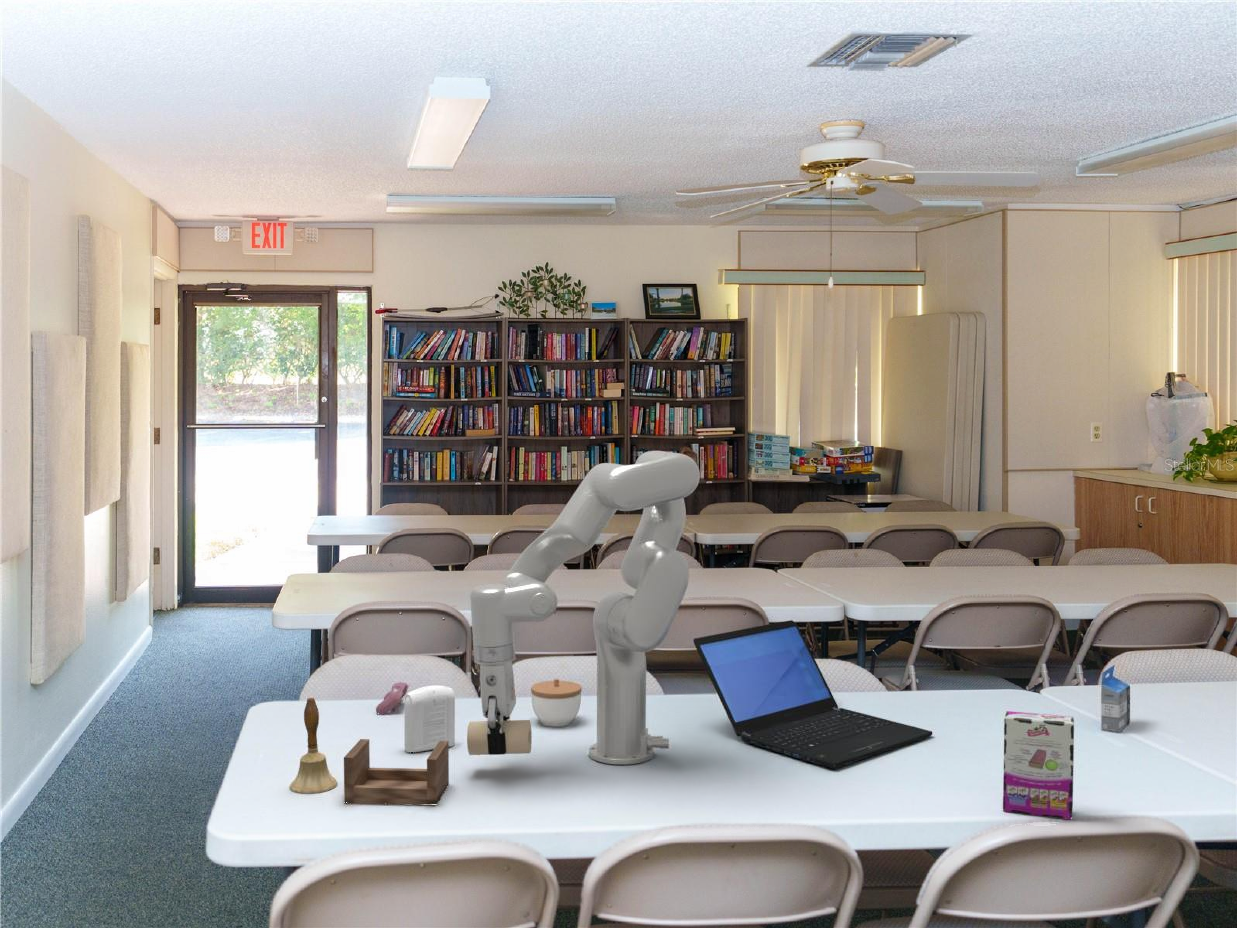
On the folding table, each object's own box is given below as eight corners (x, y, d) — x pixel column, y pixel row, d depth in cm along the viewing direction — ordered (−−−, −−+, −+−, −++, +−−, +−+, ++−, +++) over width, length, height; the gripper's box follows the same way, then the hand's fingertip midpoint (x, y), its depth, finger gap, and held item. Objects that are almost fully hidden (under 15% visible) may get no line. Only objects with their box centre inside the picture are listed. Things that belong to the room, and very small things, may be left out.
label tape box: (1119, 733, 243) (1121, 675, 243) (1099, 730, 246) (1101, 672, 245) (1130, 724, 250) (1132, 667, 250) (1110, 720, 253) (1112, 664, 252)
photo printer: (449, 740, 237) (448, 680, 236) (458, 746, 233) (458, 685, 233) (401, 749, 231) (400, 687, 231) (410, 755, 228) (409, 692, 227)
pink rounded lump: (392, 722, 255) (406, 693, 255) (373, 712, 255) (387, 684, 255) (401, 709, 265) (414, 682, 265) (382, 700, 265) (396, 673, 265)
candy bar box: (1072, 810, 200) (1075, 715, 198) (1072, 820, 195) (1075, 723, 194) (1003, 802, 204) (1005, 708, 202) (1001, 811, 199) (1004, 716, 198)
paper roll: (532, 746, 220) (531, 715, 219) (528, 758, 214) (526, 726, 213) (473, 748, 220) (471, 717, 220) (467, 759, 214) (465, 728, 214)
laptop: (833, 774, 219) (835, 671, 217) (690, 729, 247) (691, 638, 245) (935, 738, 241) (937, 645, 239) (793, 701, 269) (794, 617, 267)
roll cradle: (448, 784, 211) (448, 740, 211) (436, 805, 201) (436, 759, 200) (361, 782, 212) (360, 739, 212) (344, 803, 202) (343, 757, 201)
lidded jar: (591, 724, 249) (591, 680, 248) (547, 732, 243) (547, 688, 242) (564, 712, 257) (564, 670, 257) (521, 720, 251) (521, 677, 251)
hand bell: (312, 797, 205) (311, 707, 204) (279, 788, 209) (278, 700, 208) (347, 783, 212) (346, 696, 211) (314, 775, 216) (313, 689, 215)
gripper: (507, 664, 206) (513, 763, 208) (521, 639, 224) (526, 731, 225) (465, 665, 207) (471, 764, 209) (482, 641, 224) (488, 733, 226)
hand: (500, 746), depth 217 cm, fingers closed on paper roll, 6 cm apart
